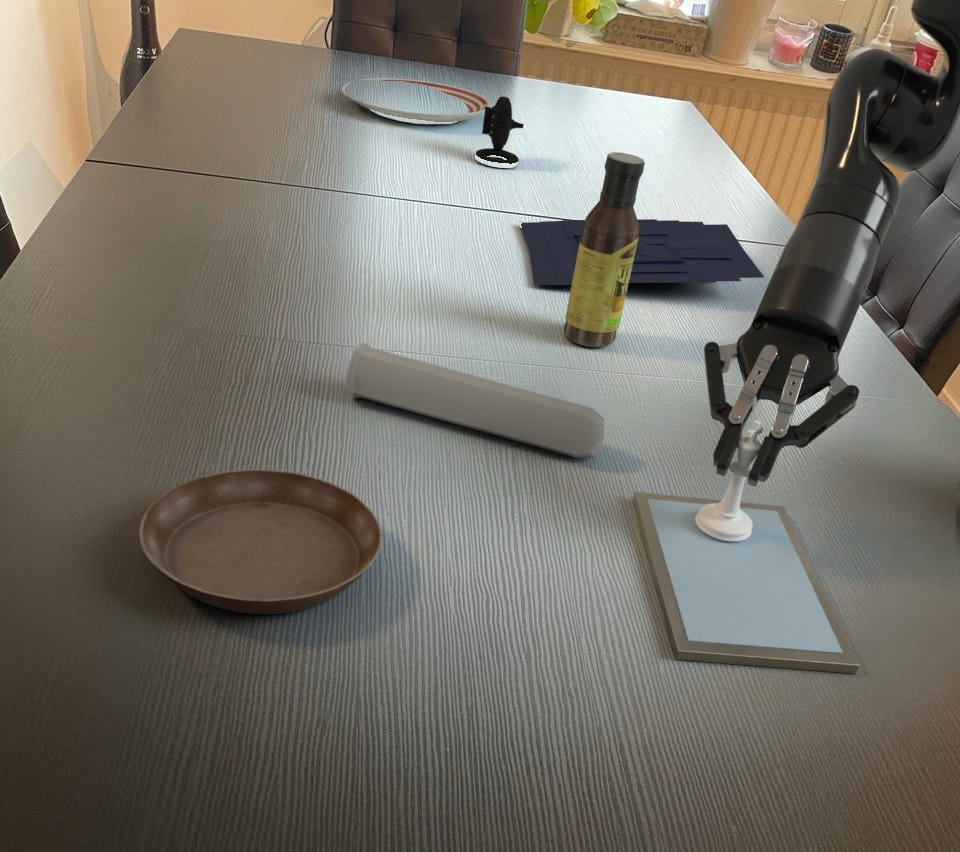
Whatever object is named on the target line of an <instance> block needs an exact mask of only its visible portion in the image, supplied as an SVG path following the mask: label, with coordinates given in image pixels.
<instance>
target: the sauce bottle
mask: <svg viewBox="0 0 960 852" xmlns="http://www.w3.org/2000/svg"><path fill="white" fill-rule="evenodd" d="M645 164H646V162H645V160H644V159H643V158H641V157H639V156H637V155H634V154H630V153H626V152H617V151H613V152H610V153H608V154H607V155H606V160H605V163H604V172H605V173H604V178H603V184H602V188H601V191H600V194H599V201H598V202H597V203H596V204H595V205H594V207H592V209H590V212H589V213H588V214H587V215H586V217H585V219H584V220H585V223H584V228H583V234H582V239H581V240H580V244H579V249H578V255H577V260H576V265H575V270H574V275H573V281H572V285H570V286H571V287H570V291H569V297H568V302H567V307H566V312H565V314H566V315H565V323H564V326H563V334H564V337H565V338H566V339H567V340H569V341H570V342H571V343H574V344H577V345H581V346H585V347H590V348H605V347H607V346H609V345H611V344H612V343H614V342H615V341H616V338H617V331H618V330H619V328H620V325H621V319H622V315H623V311H624V305H625V301H626V296H627V292H628V287H629V284H630V283H629V279H630V275H631V271H632V265H633V261H634V256H635V252H636V248H637V243H638V238H639V235H638V234H639V223H638V221H637V219H638V217H637V214H636V210H635V208H634V206H635V204H636V200H637V193H638V189H639V185H640V180H641V178H642V176H643V174H644V170H645Z"/></svg>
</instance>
